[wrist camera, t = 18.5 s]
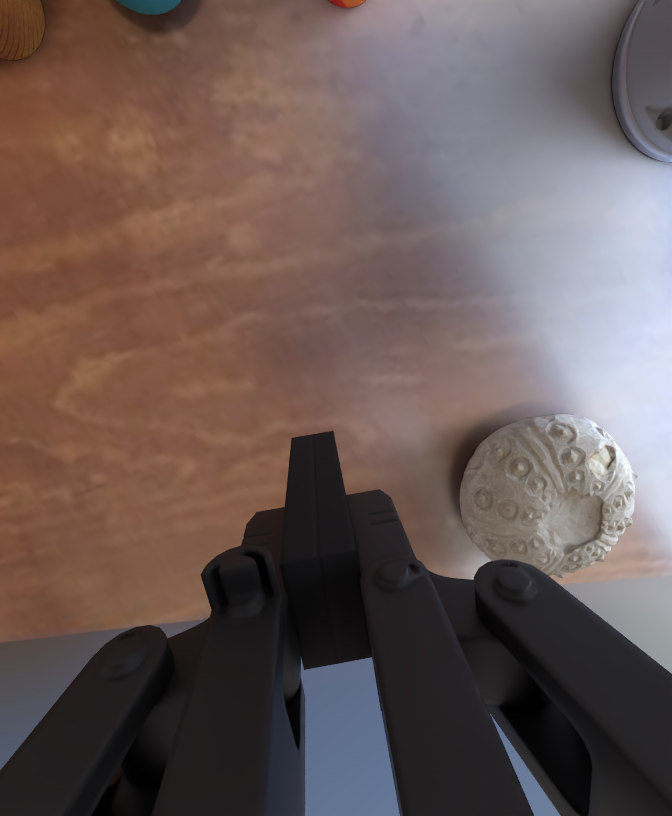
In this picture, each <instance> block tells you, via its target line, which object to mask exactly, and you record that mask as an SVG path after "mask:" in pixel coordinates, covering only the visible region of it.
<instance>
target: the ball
mask: <svg viewBox="0 0 672 816" xmlns="http://www.w3.org/2000/svg"><path fill="white" fill-rule="evenodd" d="M116 1H118V2H119V3H120V4H122V5H123V6H125V7H127V8H128V9H131V10H133V11H136V12H139V13H143V14H149V15H157V14H162V13H166V12H168V11H170V10H172V9H173V8H175V7H176V6H177V5H178V4H179V3H180V2H181V1H182V0H116Z"/></svg>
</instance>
